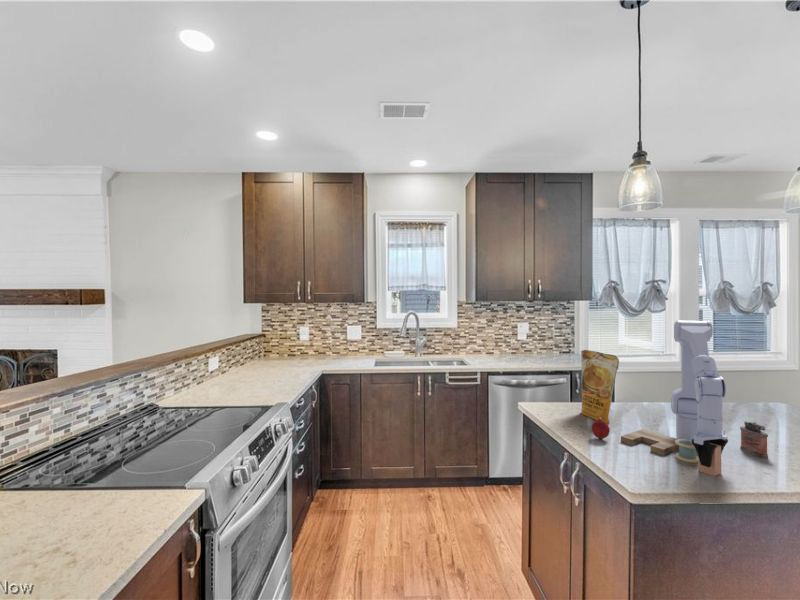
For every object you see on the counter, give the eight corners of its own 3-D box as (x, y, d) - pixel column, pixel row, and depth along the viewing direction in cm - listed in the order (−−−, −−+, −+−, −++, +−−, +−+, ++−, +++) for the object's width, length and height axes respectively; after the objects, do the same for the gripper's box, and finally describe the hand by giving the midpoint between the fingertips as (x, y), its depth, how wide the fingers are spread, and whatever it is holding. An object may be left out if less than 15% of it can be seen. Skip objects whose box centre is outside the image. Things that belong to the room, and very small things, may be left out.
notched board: (642, 434, 144) (642, 429, 144) (685, 446, 132) (685, 441, 132) (620, 441, 137) (620, 436, 137) (663, 455, 125) (663, 449, 125)
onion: (612, 443, 136) (611, 420, 136) (594, 441, 138) (594, 419, 137) (606, 437, 142) (606, 415, 142) (589, 436, 143) (589, 414, 143)
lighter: (737, 448, 130) (737, 419, 130) (746, 448, 131) (746, 418, 131) (761, 458, 122) (761, 427, 122) (771, 458, 123) (771, 426, 123)
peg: (705, 467, 116) (705, 441, 116) (721, 473, 113) (721, 445, 113) (698, 471, 114) (698, 444, 114) (714, 476, 111) (714, 448, 111)
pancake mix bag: (587, 410, 175) (587, 349, 174) (620, 424, 156) (620, 355, 156) (574, 411, 173) (574, 349, 173) (606, 425, 155) (606, 355, 154)
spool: (681, 452, 127) (681, 437, 127) (704, 459, 122) (703, 444, 122) (671, 457, 124) (670, 441, 124) (694, 464, 119) (694, 448, 119)
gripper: (714, 425, 106) (714, 474, 106) (737, 417, 113) (737, 463, 114) (685, 418, 112) (685, 465, 113) (709, 411, 120) (709, 454, 120)
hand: (709, 463), depth 113 cm, fingers open, 5 cm apart
